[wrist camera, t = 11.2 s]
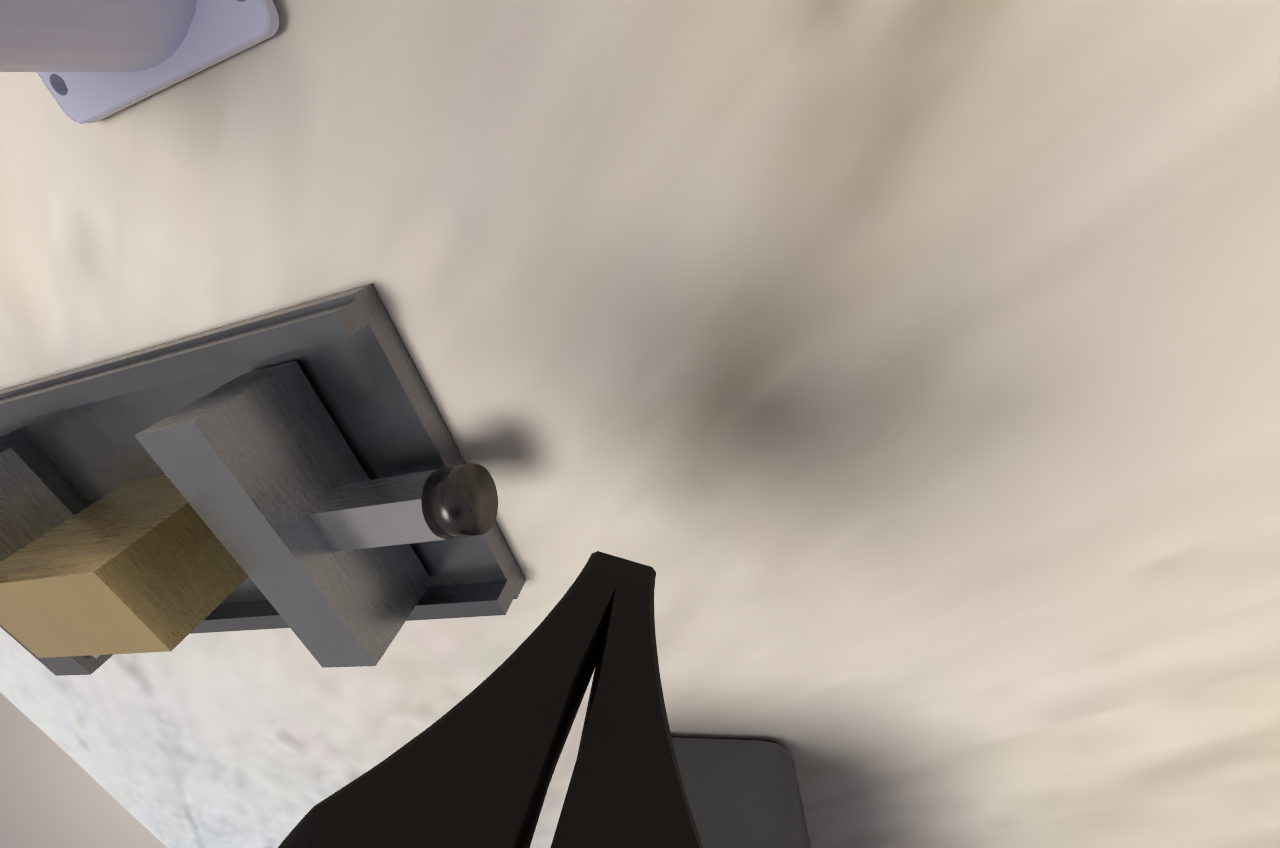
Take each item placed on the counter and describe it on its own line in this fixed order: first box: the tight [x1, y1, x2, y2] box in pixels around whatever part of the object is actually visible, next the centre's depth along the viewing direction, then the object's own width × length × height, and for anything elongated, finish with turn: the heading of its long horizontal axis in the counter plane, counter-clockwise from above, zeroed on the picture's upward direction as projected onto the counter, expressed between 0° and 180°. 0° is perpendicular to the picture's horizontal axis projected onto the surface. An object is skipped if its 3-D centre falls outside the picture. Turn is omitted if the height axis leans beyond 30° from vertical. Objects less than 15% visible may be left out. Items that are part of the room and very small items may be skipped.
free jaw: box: [135, 361, 498, 667], centre depth 19 cm, size 10×8×4 cm
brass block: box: [0, 474, 249, 658], centre depth 21 cm, size 4×7×6 cm, turn 107°
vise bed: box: [0, 284, 526, 675], centre depth 22 cm, size 13×21×5 cm, turn 107°
